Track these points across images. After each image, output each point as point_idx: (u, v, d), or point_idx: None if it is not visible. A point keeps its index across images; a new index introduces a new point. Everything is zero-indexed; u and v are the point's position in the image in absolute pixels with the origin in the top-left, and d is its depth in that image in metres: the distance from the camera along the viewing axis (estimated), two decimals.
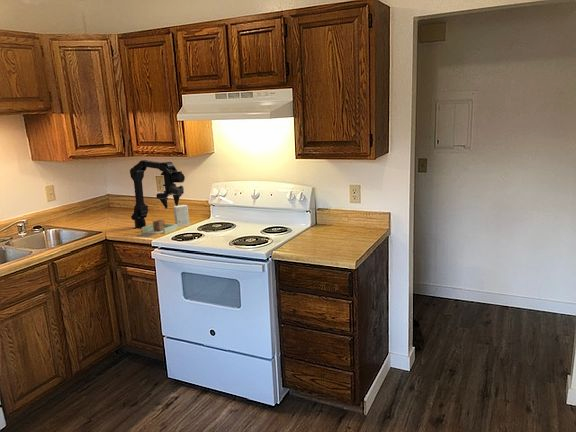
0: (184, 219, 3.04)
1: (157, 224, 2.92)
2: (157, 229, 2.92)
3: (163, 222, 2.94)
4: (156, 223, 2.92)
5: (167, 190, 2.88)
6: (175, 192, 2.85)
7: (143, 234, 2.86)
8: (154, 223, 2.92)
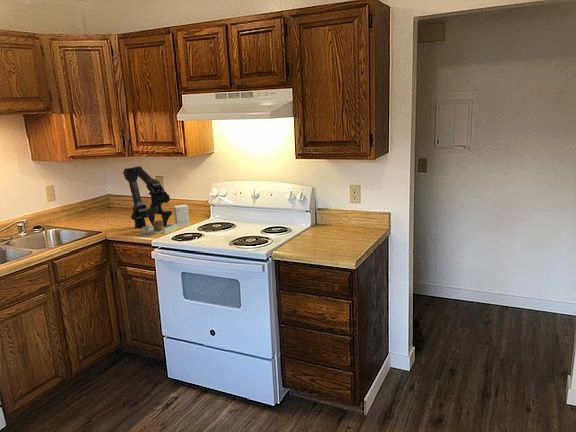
0: (184, 219, 3.04)
1: (157, 224, 2.92)
2: (157, 229, 2.92)
3: None
4: (156, 223, 2.92)
5: None
6: None
7: (143, 234, 2.86)
8: (154, 223, 2.92)
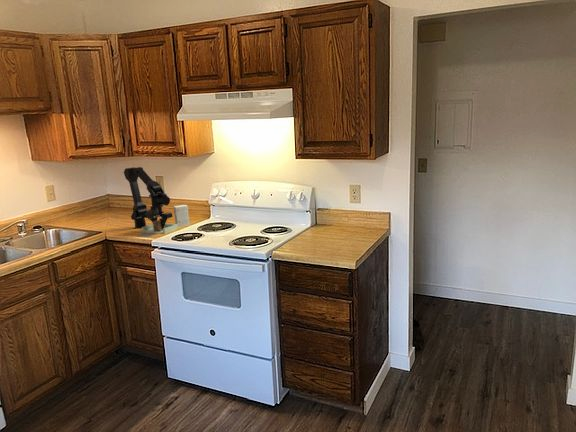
0: (184, 219, 3.04)
1: (157, 224, 2.92)
2: (157, 229, 2.92)
3: None
4: (156, 223, 2.92)
5: None
6: None
7: (143, 234, 2.86)
8: (154, 223, 2.92)
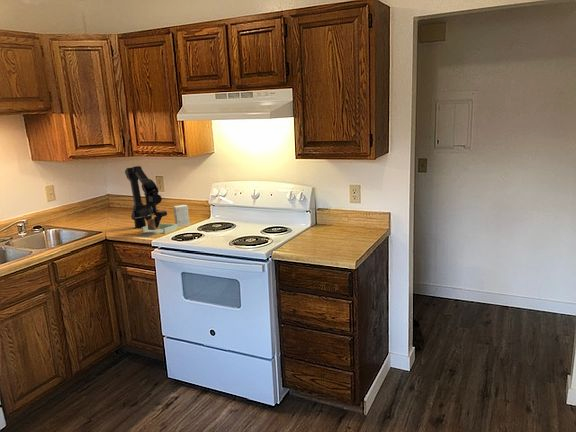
0: (184, 219, 3.04)
1: (151, 222, 2.87)
2: (151, 228, 2.88)
3: None
4: (150, 222, 2.87)
5: None
6: None
7: (143, 234, 2.86)
8: (148, 222, 2.88)
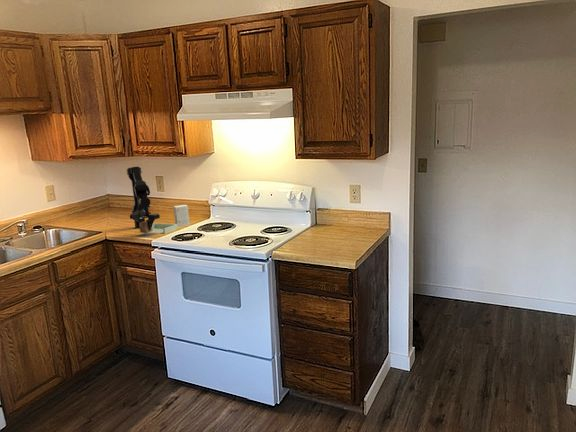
0: (184, 219, 3.04)
1: (144, 225, 2.81)
2: (144, 231, 2.82)
3: None
4: (143, 224, 2.81)
5: None
6: None
7: (143, 234, 2.86)
8: (141, 224, 2.82)
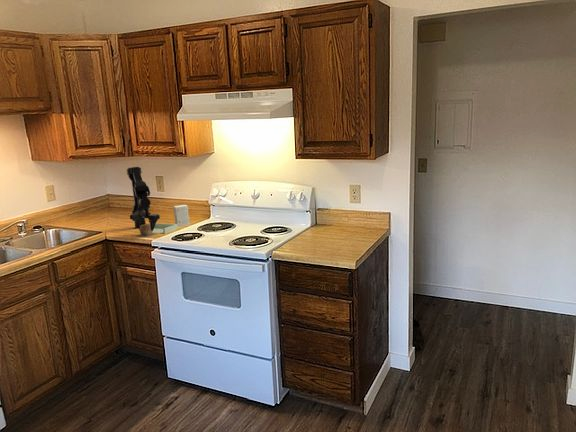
0: (184, 219, 3.04)
1: (144, 228, 2.82)
2: (144, 233, 2.82)
3: (150, 226, 2.84)
4: (143, 227, 2.82)
5: None
6: None
7: None
8: (141, 227, 2.82)
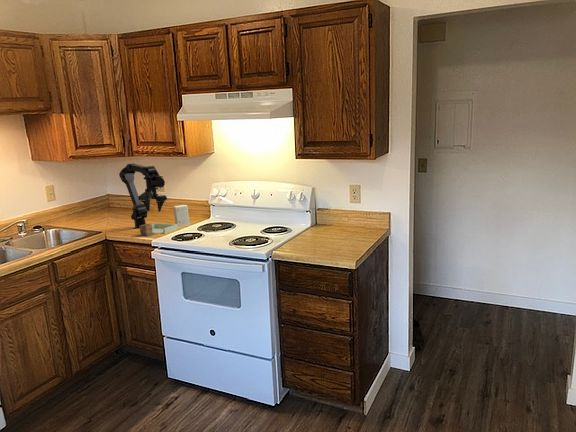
0: (184, 219, 3.04)
1: (144, 228, 2.82)
2: (144, 233, 2.82)
3: (150, 226, 2.84)
4: (143, 227, 2.82)
5: None
6: None
7: None
8: (141, 227, 2.82)
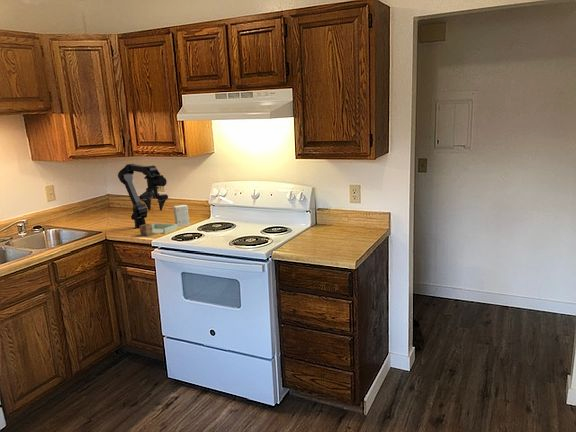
0: (184, 219, 3.04)
1: (144, 228, 2.82)
2: (144, 233, 2.82)
3: (150, 226, 2.84)
4: (143, 227, 2.82)
5: None
6: None
7: None
8: (141, 227, 2.82)
